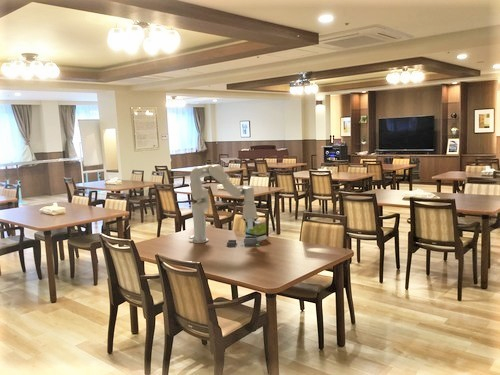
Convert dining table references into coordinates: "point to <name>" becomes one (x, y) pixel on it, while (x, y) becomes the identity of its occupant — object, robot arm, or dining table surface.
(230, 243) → the holster
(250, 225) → the plug
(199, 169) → the robot arm
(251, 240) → the port
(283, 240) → the dining table surface
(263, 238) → the tea box
